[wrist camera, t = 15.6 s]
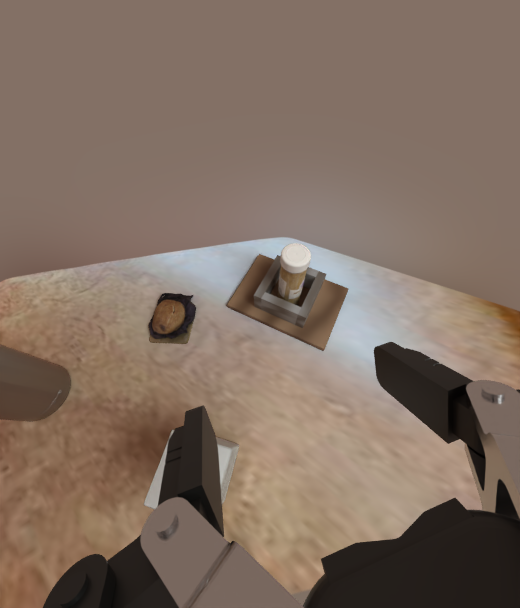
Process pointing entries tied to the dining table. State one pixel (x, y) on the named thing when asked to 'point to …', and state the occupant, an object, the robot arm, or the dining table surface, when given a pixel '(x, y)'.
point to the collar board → (284, 315)
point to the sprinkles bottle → (293, 272)
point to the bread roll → (172, 319)
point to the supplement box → (226, 465)
